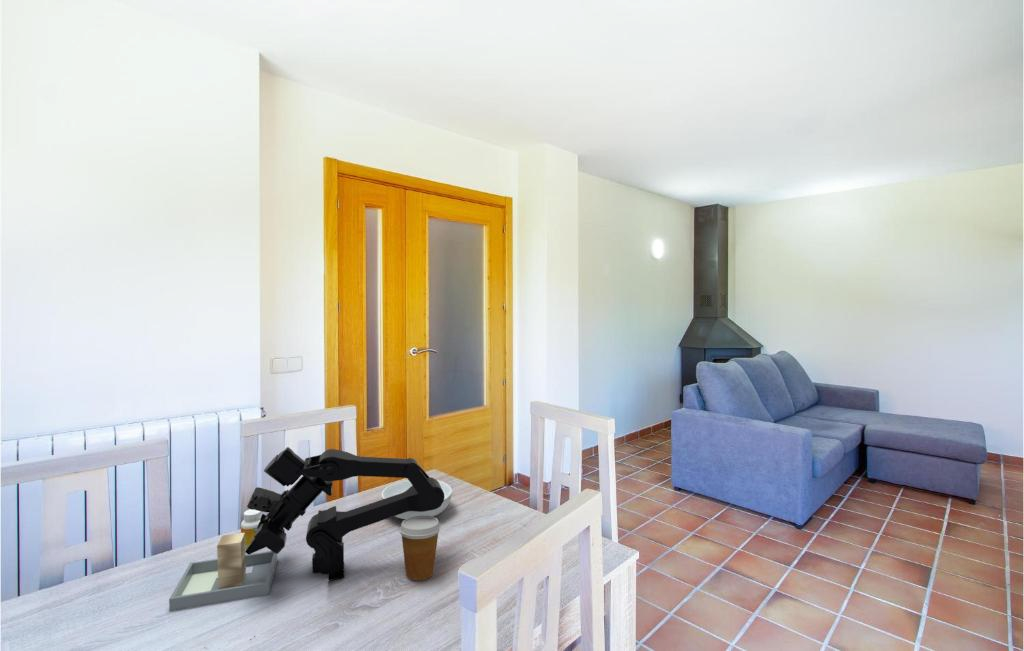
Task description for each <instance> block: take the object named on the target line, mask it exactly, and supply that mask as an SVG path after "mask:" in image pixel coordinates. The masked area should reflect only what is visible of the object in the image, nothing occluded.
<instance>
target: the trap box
mask: <svg viewBox="0 0 1024 651" xmlns="http://www.w3.org/2000/svg"><path fill="white" fill-rule="evenodd" d="M245 561H246V567H251V566H253V567H252V569H251V571H250V572H246V576H245V579H244V582H243V585H242V586H237V587H231V588H225V589H219V590H218V560H217V558H214V559H205V560H200V561H193V562H190V563H189V565H188V566H187V568H186V569H185V571H184V573H182V574H183V575H182V576H181V578H180V580H179V582H178V583H177V585H176V587H175V588H174V589H173V592H172V594H171V595H170V597H169V599H168V604H169V612H175V611H180V610H185V609H192V608H197V607H204V606H209V605H214V604H215V605H216V604H220V603H226V602H227V603H228V602H233V601H238V600H244V599H245V600H246V599H251V598H255V597H256V598H257V597H263V596H268V595H269V594H270V591H271V588H272V583H273V580H274V575H275V572H276V568H277V564H278V554H276V553H274V552H273V551H271V550H269V551H268V550H267V551H263V552H262V551H261V552H254V553H251V554H247V553H246V554H245Z"/></svg>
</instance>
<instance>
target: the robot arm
mask: <svg viewBox="0 0 1024 651" xmlns="http://www.w3.org/2000/svg"><path fill="white" fill-rule="evenodd" d="M263 473H265V474H266V475H268V476H269V477H271V478H272V479H273V480H275V482H277V483H278V484H280V485H281V486H283V487H285V486H286V487H289V486H291V488H290V489H287V490H284V491H283V492H282V493H278V492H275V491H274V490H269V489H268V488H267V489H266V488H263V487H259V486H258V487H255V488H254V490H253V493H252V494H251V497H250V499H249V501H248V503H247V506H246V507H247V509H248V510H249V509H251V510H258V511H261V519H260V522H259V524H258V527H257V531H256V533H255V536H254V538H253V540H252V541H251V543H250V544H249V546H248V547H247V548H245V554H246V555H247V554H254V553H257V552H258V551H261V550H263V549H265V548H267V549H269V551H273V552H274V553H276V554H277V555H278V554H279V553H280V552H281V551H282V550H283V549H284V548H285V546H286V543H287V533H286V531H290V530H291V529H292V528H293V523H294V522H295V521H296V520H297V519H298V518H299V517H300V516H301V517H303V516H304V515H305V513H306V512H307V511H306V510H307V509H308V508H309V506H310V505H311V504H312V503H313V502H314V501H315V500H316V499H317V498H318V497H319V496H320V495H321V494H322V493H324V494H326V495H328V496H329V497H331V496H332V494H333V483H334V482H336V481H344V480H348V479H350V478H353V477H371V478H373V477H377V478H378V477H379V478H398V479H400V478H403V479H404V478H405V479H406V480H409V481H410V482H411V484H412V486H411V487H410V488H409V489H408V490H406V491H405V492H403V493H400V494H397V495H394V496H391V497H388V498H385V499H382V498H381V499H379V500H377V501H374V502H371V503H368V504H364V505H362V506H358V507H355V508H353V509H351V510H347V511H338V510H337V506H336V505H334V506H331V507H330V508H327V509H323V510H318V512H317V514H315V515H313V516H312V517H311V518H310V520H309V521H308V524H307V528H306V535H305V542H306V544H307V546H308V547H310V548H311V549H313V550H314V553H312V559H311V570H312V571H311V573H312V574H321V575H328V577H327V580H328V581H333V580H339V579H343V578H345V554H344V553H345V550H344V549H345V546H344V545H345V544H344V542H343V537H345V536H346V535H348V534H349V533H350V532H353V531H357V530H358V529H362V528H365V527H368V526H370V525H374V524H376V523H379V522H381V521H384V520H388V519H390V518H394V517H395V516H396V515H399V514H402V513H405V512H408V511H415V512H424V511H430V510H435V509H437V508H439V507H440V506H441V505H442V503H443V501H444V492H443V490H442V488H441V486H440V484H439V482H438V481H439V480H438V479H435V478H434V477H431V476H429V475H428V474H427V472H426V471H425V470H424V469H423V468H422V467H421V466H420V465H419V464H418V461H417V460H416V459H415V458H412V457H410V458H398V457H396V458H393V457H377V456H376V457H375V456H374V457H373V456H359V455H355V454H353V453H350V452H347V451H343V450H340V449H336V448H331V449H325V451H324V452H322V453H321V454H318V455H313V456H309V457H306V458H304V459H303V458H301V457H300V456H299V455H298V454H296V452H294V450H293V449H291V448H290V447H289V446H286V448H285V449H284V450H282V451H281V452H280V453H279V454H276V455H274V457H273V458H272V459H271V460H270V461H269V463H268V464H267V465H266V467H265V468H264V470H263ZM301 476H302V477H301ZM437 480H438V481H437ZM292 485H293V486H292ZM263 512H264V513H267V514H264V513H263ZM285 530H286V531H285Z"/></svg>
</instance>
